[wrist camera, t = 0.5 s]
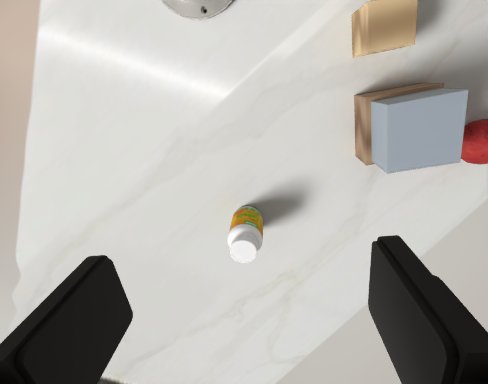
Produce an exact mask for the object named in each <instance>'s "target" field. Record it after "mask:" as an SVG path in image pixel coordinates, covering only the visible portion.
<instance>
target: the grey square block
mask: <svg viewBox="0 0 488 384" xmlns="http://www.w3.org/2000/svg"><path fill="white" fill-rule="evenodd" d="M468 91H469V90H467V89H448V88H438V89H432V90H427V91H422V92H417V93H412V94H407V95H401V96H396V97H391V98H386V99H381V100H376V101H371V143H372V162H373V163H374V164H376V165H377V166H378V167H379V168H381V169H382V170H383V171H385V172H386V173H394V172H400V171H407V170H413V169H420V168H426V167H433V166H439V165H446V164H452V163H459V162H460V160H461V151H462V143H463V134H464V126H465V117H466V109H467V100H468Z"/></svg>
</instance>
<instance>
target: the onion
mask: <svg viewBox="0 0 488 384" xmlns="http://www.w3.org/2000/svg"><path fill="white" fill-rule="evenodd" d="M461 159H463V160H464V161H466V162H467V163H473V164H487V163H488V119H482V120H477V121H473V122H471V123H469V124H467V125H466V126H464V134H463V143H462V151H461Z"/></svg>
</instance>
